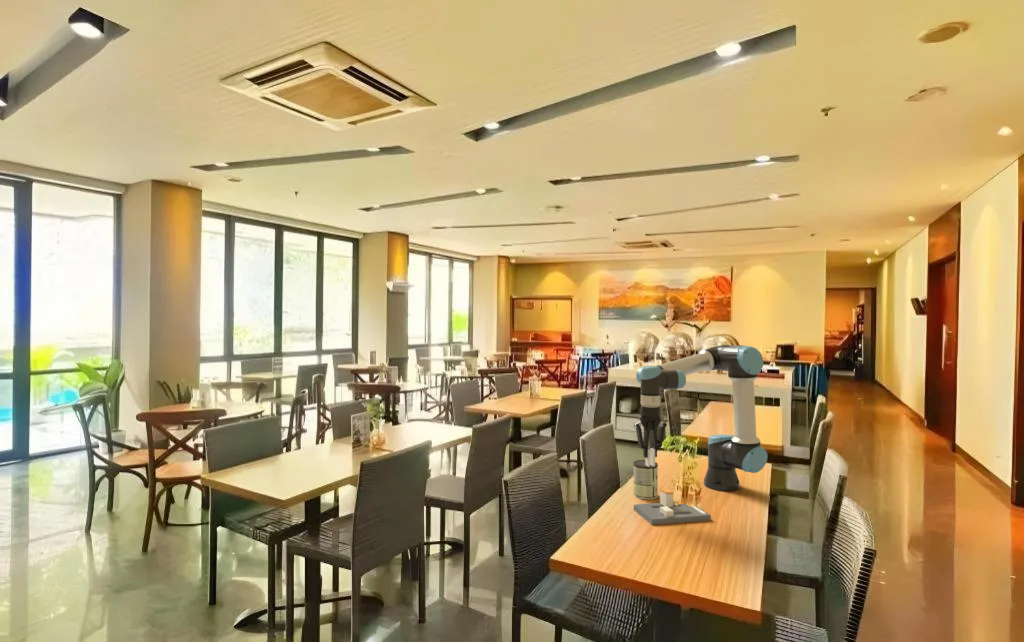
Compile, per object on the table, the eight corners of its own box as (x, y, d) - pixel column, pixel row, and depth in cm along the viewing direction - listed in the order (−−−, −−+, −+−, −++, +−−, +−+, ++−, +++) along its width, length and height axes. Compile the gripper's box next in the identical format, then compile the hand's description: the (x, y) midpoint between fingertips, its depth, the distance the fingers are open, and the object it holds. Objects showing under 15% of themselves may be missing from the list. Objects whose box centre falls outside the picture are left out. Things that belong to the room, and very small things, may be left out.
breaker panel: (688, 505, 220) (689, 495, 220) (710, 520, 204) (710, 509, 204) (633, 509, 215) (633, 499, 215) (651, 524, 199) (651, 514, 199)
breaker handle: (666, 502, 216) (666, 488, 216) (672, 506, 211) (673, 492, 211) (659, 502, 216) (660, 488, 216) (665, 507, 211) (665, 492, 211)
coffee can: (631, 491, 238) (631, 459, 238) (655, 492, 237) (655, 460, 237) (634, 499, 227) (634, 465, 227) (659, 500, 226) (659, 466, 226)
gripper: (637, 407, 207) (636, 469, 207) (672, 406, 209) (671, 467, 210) (629, 404, 214) (629, 464, 214) (663, 403, 217) (662, 462, 217)
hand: (650, 465), depth 212 cm, fingers closed
